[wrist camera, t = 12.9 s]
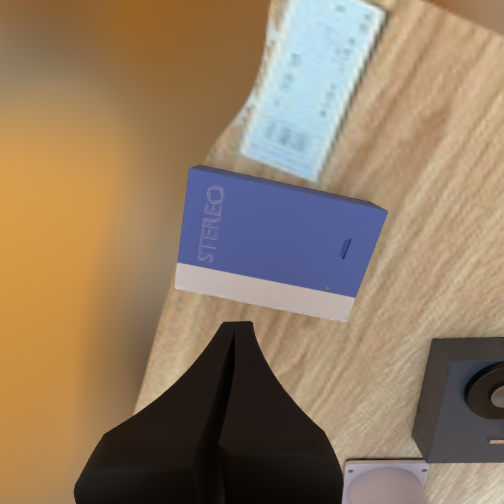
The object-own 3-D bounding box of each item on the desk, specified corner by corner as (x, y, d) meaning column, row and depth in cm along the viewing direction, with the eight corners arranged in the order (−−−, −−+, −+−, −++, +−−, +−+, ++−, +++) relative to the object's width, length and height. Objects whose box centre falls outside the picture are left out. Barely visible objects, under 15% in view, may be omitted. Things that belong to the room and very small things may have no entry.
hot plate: (540, 440, 26) (569, 471, 24) (409, 442, 27) (425, 472, 24) (587, 334, 22) (628, 358, 20) (432, 338, 23) (453, 362, 20)
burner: (525, 413, 22) (533, 421, 21) (456, 414, 22) (462, 422, 22) (546, 360, 20) (556, 367, 20) (471, 361, 20) (479, 368, 20)
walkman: (371, 202, 19) (193, 163, 18) (389, 211, 16) (182, 166, 16) (335, 302, 22) (179, 271, 21) (345, 324, 19) (168, 289, 18)
